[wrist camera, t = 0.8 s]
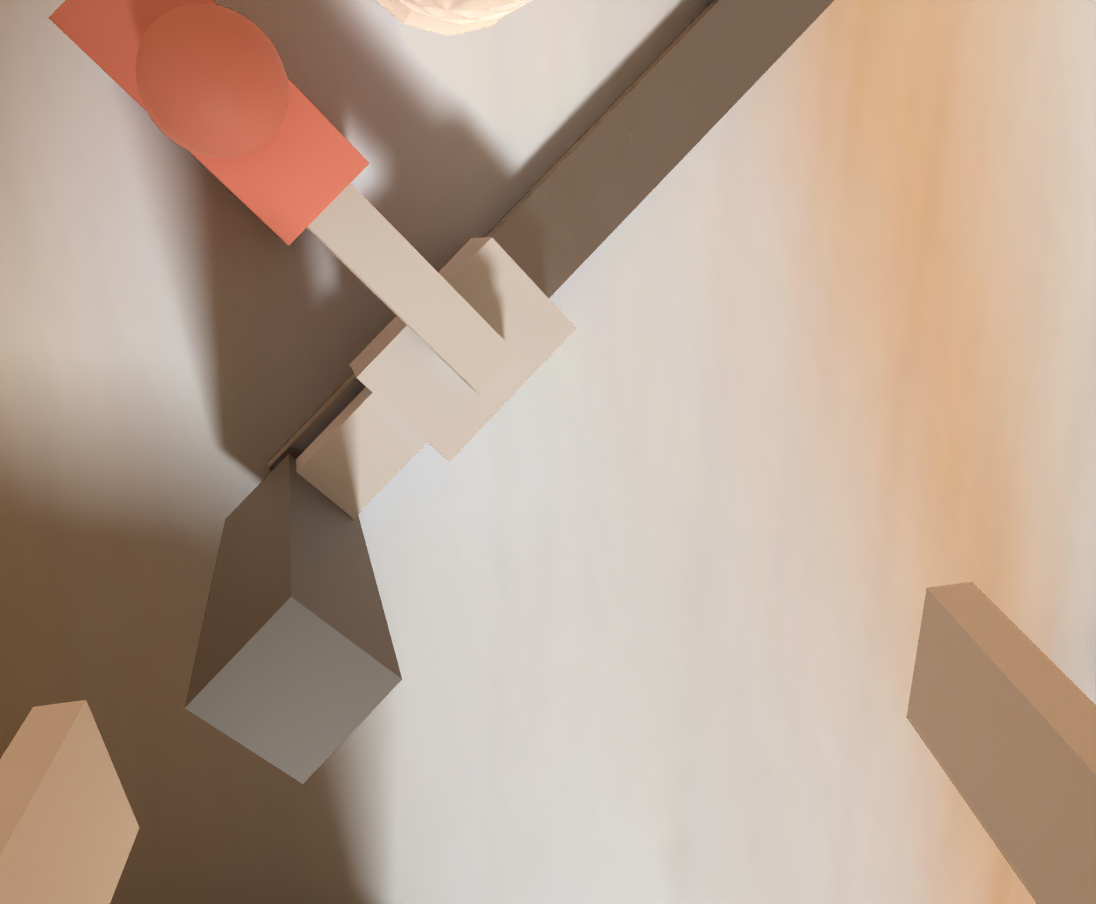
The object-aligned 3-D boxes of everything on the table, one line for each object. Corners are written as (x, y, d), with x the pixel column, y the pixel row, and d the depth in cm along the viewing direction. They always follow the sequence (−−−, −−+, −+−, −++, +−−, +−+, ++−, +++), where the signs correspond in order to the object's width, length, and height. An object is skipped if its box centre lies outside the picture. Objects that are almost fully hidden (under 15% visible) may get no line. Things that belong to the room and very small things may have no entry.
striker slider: (306, 566, 30) (320, 795, 18) (-87, 263, 24) (-473, 285, 12) (542, 318, 31) (721, 371, 18) (210, -35, 25) (135, -314, 12)
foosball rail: (333, 513, 30) (334, 521, 30) (268, 460, 29) (268, 467, 28) (883, -61, 32) (901, -70, 31) (841, -133, 30) (858, -145, 29)
